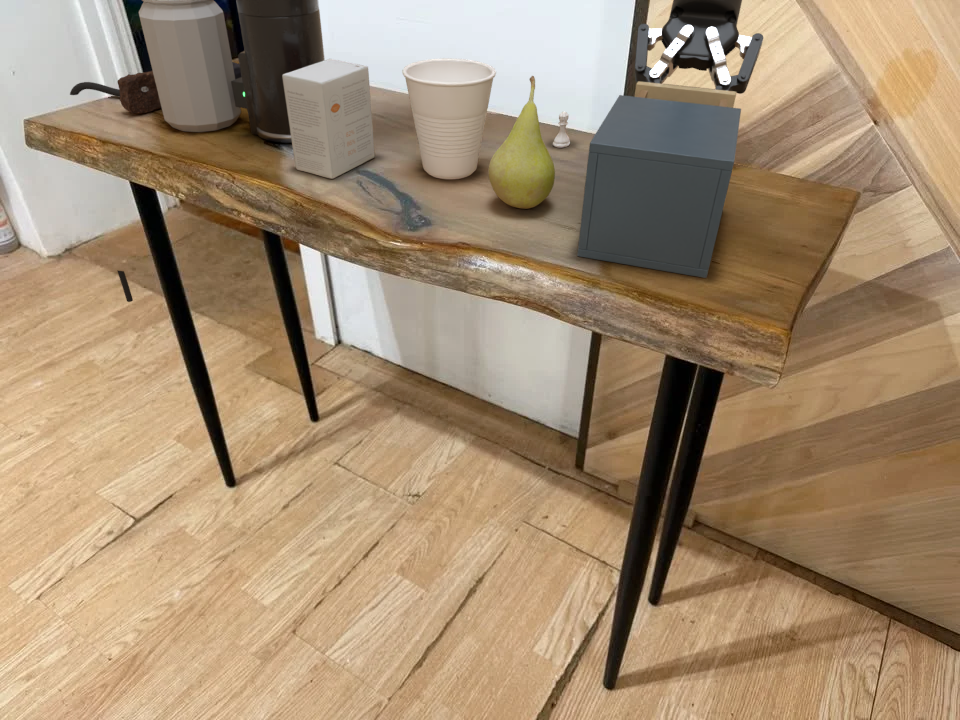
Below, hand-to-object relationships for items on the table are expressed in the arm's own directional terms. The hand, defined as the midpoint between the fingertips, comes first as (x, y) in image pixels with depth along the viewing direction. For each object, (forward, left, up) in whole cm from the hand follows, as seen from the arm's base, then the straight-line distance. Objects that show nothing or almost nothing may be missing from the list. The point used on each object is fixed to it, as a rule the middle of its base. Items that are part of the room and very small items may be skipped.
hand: (681, 117), depth 79 cm
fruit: (-14, -15, -6) cm, 21 cm away
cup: (-24, -9, -6) cm, 26 cm away
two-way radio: (-63, +9, -4) cm, 64 cm away
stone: (-70, -3, -6) cm, 70 cm away
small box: (-37, -12, -6) cm, 39 cm away
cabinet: (0, -17, -6) cm, 18 cm away
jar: (-60, -5, -6) cm, 61 cm away
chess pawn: (-14, +4, -6) cm, 16 cm away
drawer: (0, -5, -5) cm, 7 cm away
